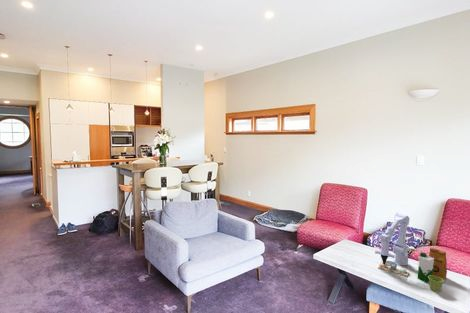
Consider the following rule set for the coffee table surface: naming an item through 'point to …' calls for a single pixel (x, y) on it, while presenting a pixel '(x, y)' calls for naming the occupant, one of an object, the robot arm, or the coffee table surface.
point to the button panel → (393, 270)
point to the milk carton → (425, 267)
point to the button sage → (403, 271)
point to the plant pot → (435, 283)
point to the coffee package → (439, 263)
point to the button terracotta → (384, 265)
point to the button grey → (393, 267)
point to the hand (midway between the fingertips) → (384, 263)
